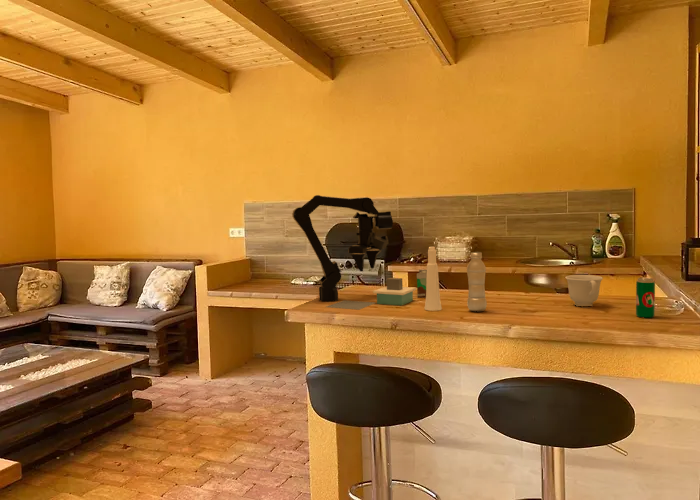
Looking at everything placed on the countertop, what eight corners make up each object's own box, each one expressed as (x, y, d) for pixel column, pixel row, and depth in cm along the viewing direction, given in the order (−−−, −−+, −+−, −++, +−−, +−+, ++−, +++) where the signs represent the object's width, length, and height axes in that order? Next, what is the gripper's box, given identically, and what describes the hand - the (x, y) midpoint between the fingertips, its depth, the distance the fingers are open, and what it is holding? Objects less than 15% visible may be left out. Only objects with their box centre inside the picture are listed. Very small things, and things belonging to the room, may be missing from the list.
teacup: (576, 311, 175) (576, 281, 174) (559, 302, 190) (559, 275, 189) (613, 310, 175) (613, 280, 174) (593, 302, 190) (594, 274, 189)
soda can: (637, 314, 167) (638, 276, 166) (655, 316, 164) (656, 277, 163) (634, 317, 164) (634, 278, 163) (652, 319, 160) (653, 280, 159)
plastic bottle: (473, 313, 177) (472, 254, 175) (463, 310, 183) (462, 252, 181) (490, 312, 178) (489, 252, 177) (480, 308, 185) (479, 251, 183)
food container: (433, 298, 206) (432, 273, 206) (417, 298, 208) (416, 273, 207) (434, 293, 218) (434, 269, 218) (419, 293, 220) (418, 269, 219)
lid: (373, 293, 194) (372, 280, 194) (387, 288, 204) (386, 275, 204) (403, 295, 188) (402, 281, 188) (416, 289, 199) (415, 277, 198)
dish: (377, 306, 195) (376, 292, 194) (388, 301, 204) (388, 288, 203) (402, 308, 190) (401, 294, 190) (412, 303, 199) (412, 290, 198)
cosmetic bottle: (431, 306, 191) (430, 245, 189) (445, 308, 186) (444, 246, 184) (421, 309, 186) (419, 247, 184) (435, 311, 182) (433, 247, 180)
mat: (325, 309, 192) (325, 307, 192) (344, 302, 204) (344, 300, 204) (359, 312, 185) (359, 309, 185) (377, 305, 197) (377, 302, 197)
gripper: (373, 231, 194) (374, 273, 195) (394, 228, 210) (395, 267, 211) (346, 231, 199) (348, 272, 200) (369, 228, 215) (370, 266, 217)
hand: (367, 269), depth 207 cm, fingers open, 9 cm apart
